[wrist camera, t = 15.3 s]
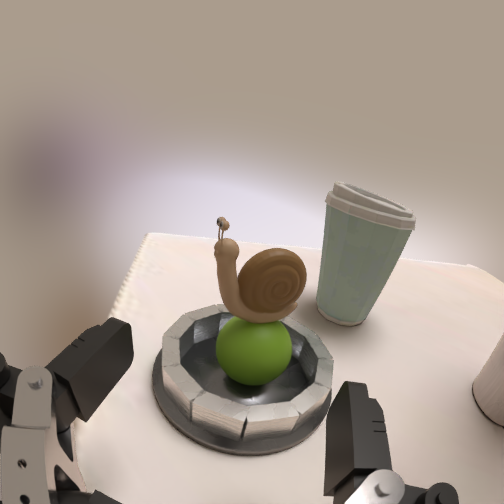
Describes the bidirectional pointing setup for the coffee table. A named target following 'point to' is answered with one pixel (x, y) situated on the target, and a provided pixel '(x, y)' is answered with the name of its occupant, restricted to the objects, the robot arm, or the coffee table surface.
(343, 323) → the disposable coffee cup
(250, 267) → the snail figurine
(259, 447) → the collar base
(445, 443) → the coffee table surface
